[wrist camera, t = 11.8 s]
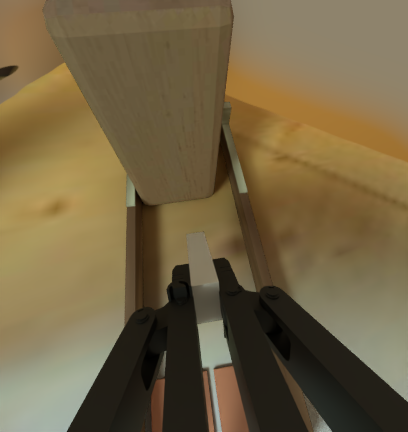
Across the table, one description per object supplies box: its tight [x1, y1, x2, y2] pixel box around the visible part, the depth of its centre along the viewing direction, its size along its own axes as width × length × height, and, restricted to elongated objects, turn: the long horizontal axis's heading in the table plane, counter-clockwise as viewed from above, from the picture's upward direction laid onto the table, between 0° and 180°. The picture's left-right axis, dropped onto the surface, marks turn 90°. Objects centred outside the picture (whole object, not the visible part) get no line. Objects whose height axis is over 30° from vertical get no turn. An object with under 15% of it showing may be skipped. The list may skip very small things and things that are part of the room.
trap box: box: [125, 102, 313, 432], centre depth 22 cm, size 15×38×6 cm, turn 8°
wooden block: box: [43, 0, 234, 206], centre depth 20 cm, size 10×10×20 cm
